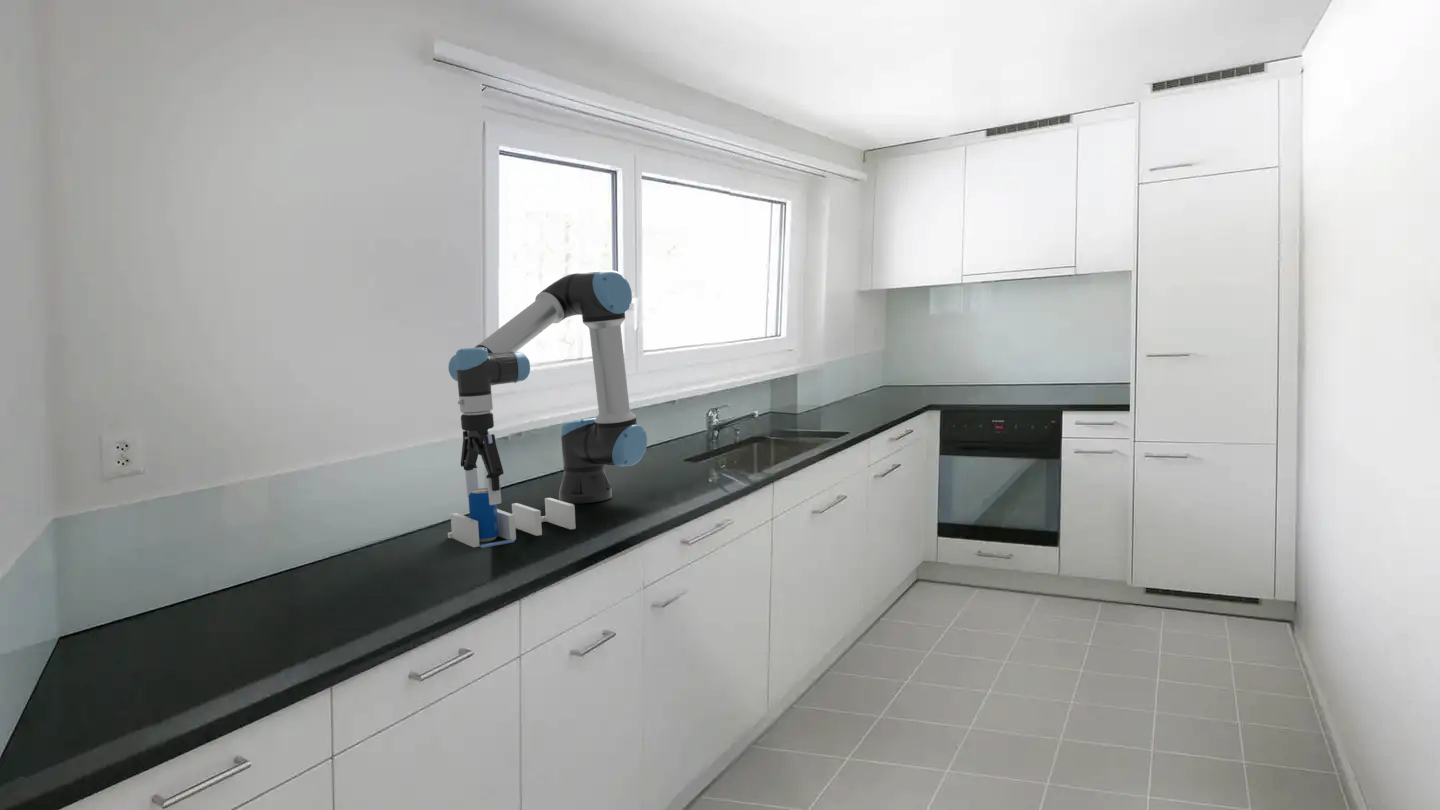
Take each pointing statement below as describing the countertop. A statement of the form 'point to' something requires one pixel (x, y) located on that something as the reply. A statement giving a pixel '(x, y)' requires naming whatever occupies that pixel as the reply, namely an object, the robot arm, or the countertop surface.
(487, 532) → the beverage can
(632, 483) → the countertop surface
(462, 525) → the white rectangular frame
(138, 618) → the countertop surface
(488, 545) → the blue bezel
